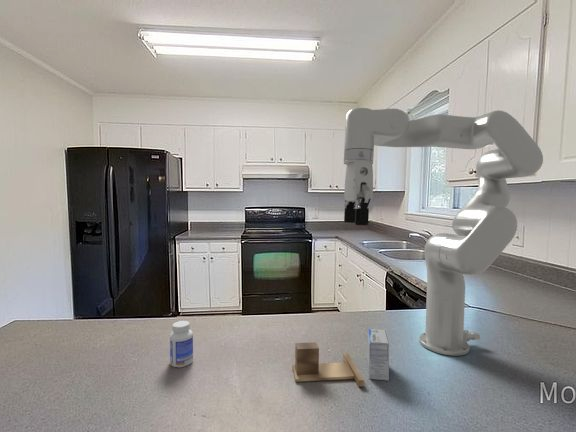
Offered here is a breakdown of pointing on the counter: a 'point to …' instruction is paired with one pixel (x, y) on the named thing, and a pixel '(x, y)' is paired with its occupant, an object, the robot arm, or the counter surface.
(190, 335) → the pill bottle
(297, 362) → the wooden t-shaped piece
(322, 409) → the counter surface
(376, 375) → the medicine box
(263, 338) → the counter surface
